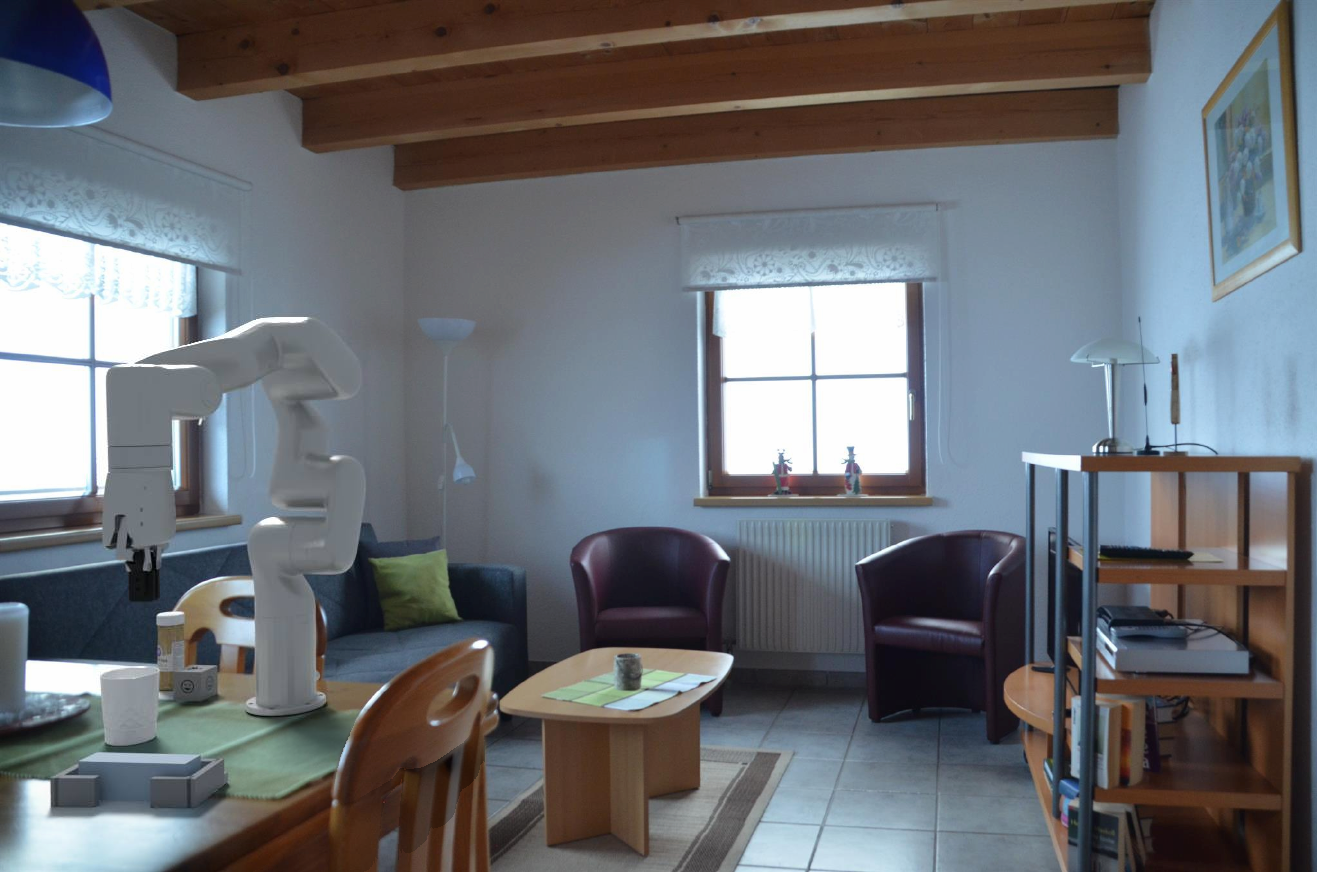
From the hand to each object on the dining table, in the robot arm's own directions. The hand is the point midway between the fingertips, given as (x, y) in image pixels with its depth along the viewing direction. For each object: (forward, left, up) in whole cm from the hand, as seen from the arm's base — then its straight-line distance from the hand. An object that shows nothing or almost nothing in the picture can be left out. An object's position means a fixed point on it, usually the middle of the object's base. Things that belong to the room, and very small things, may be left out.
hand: (144, 600), depth 130 cm
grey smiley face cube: (-42, -15, -24) cm, 51 cm away
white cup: (-18, -13, -24) cm, 33 cm away
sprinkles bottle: (-48, -23, -24) cm, 59 cm away
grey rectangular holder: (+5, +2, -24) cm, 24 cm away
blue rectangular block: (+5, +2, -24) cm, 25 cm away
